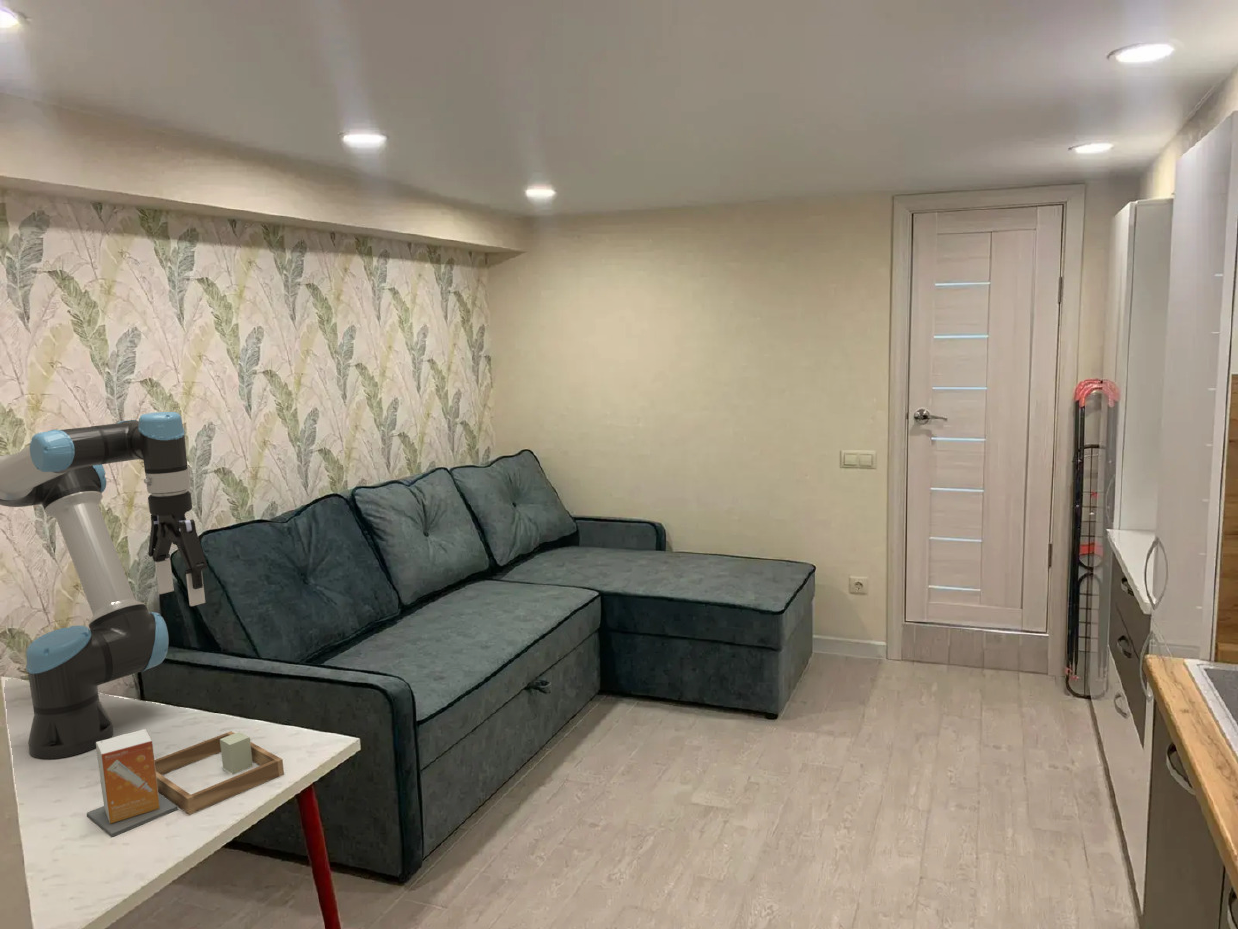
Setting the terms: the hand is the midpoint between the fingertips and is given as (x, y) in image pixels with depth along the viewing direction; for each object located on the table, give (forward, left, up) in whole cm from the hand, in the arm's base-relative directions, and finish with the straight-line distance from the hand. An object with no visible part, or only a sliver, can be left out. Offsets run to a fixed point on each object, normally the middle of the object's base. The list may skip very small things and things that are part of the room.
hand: (181, 598), depth 182 cm
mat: (+15, -19, -32) cm, 40 cm away
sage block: (+14, +1, -32) cm, 35 cm away
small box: (+15, -19, -31) cm, 40 cm away
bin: (+14, -4, -32) cm, 35 cm away
